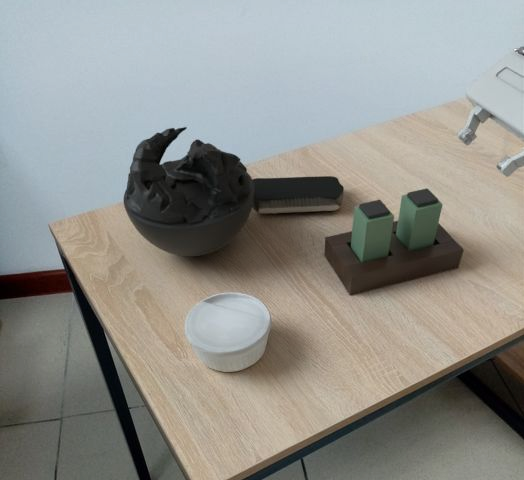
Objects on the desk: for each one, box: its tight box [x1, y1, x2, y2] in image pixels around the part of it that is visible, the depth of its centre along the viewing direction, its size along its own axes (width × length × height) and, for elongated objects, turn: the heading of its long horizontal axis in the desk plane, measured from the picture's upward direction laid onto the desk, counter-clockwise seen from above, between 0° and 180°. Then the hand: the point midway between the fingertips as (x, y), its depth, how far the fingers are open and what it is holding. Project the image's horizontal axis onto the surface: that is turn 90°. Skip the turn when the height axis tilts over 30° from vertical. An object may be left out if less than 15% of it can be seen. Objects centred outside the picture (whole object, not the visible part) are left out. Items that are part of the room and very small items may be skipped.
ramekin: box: [184, 291, 272, 373], centre depth 70 cm, size 11×11×5 cm
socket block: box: [323, 220, 464, 296], centre depth 81 cm, size 10×18×4 cm, turn 107°
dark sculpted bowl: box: [123, 126, 254, 257], centre depth 81 cm, size 20×20×19 cm
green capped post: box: [396, 188, 444, 252], centre depth 79 cm, size 4×4×11 cm
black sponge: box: [252, 175, 345, 214], centre depth 93 cm, size 16×8×4 cm, turn 90°
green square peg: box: [351, 199, 395, 263], centre depth 78 cm, size 4×4×11 cm
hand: (480, 156), depth 73 cm, fingers open, 8 cm apart
